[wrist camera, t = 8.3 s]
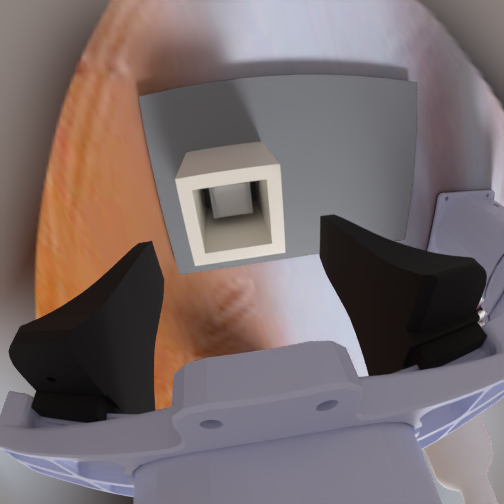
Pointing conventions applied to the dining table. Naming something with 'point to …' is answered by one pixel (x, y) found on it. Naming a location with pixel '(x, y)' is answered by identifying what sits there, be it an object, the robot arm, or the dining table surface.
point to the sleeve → (239, 226)
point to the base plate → (292, 152)
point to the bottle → (464, 462)
